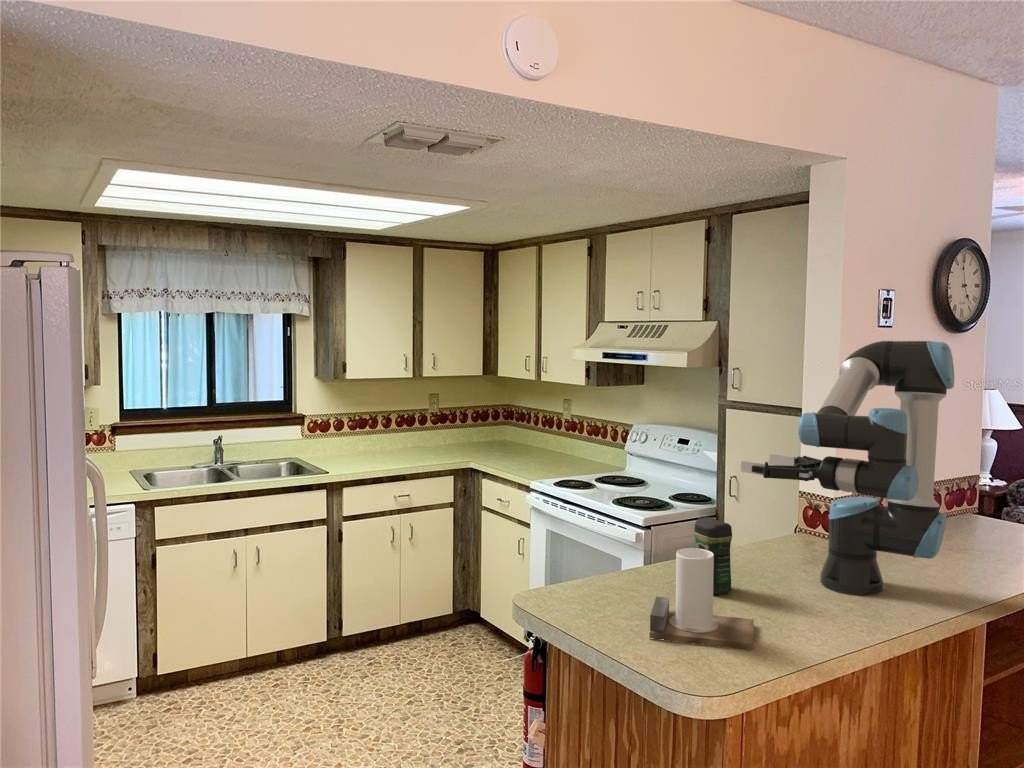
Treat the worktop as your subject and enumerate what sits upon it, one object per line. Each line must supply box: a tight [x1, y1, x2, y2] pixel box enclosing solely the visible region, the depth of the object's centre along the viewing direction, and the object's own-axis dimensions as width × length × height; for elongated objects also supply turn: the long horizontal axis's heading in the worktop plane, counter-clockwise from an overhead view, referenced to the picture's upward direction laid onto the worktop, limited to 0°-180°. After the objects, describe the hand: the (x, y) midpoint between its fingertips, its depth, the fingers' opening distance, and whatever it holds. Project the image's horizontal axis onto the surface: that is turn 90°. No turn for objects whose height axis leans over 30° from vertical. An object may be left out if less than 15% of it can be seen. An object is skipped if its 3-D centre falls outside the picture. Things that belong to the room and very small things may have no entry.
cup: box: [675, 547, 714, 629], centre depth 175 cm, size 8×8×16 cm
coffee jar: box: [693, 516, 733, 595], centre depth 200 cm, size 10×8×19 cm
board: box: [649, 596, 755, 651], centre depth 174 cm, size 22×14×5 cm, turn 73°
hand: (756, 462), depth 190 cm, fingers open, 13 cm apart
